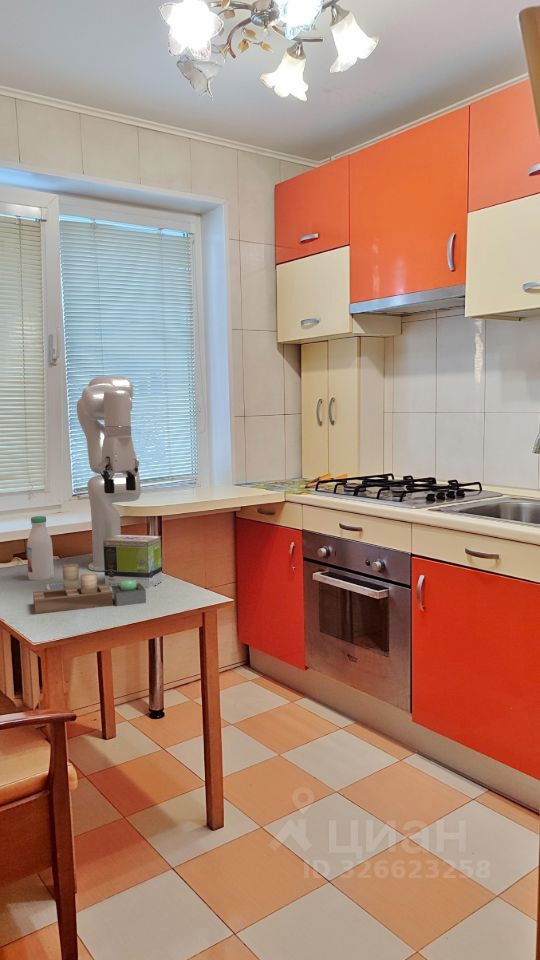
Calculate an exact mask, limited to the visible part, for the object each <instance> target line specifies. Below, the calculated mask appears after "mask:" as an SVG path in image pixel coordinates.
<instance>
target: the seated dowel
mask: <svg viewBox="0 0 540 960" xmlns="http://www.w3.org/2000/svg"><path fill="white" fill-rule="evenodd" d="M79 576H80V577H79V581H81V594H88V593H97V585H98V573H97V572H84V573H80V574H79Z"/></svg>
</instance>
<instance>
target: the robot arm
mask: <svg viewBox="0 0 540 960" xmlns="http://www.w3.org/2000/svg"><path fill="white" fill-rule="evenodd" d="M133 397H134V389H133V383H132V382H131V380H130V379H129V378H128V377H126V376H97V377H94V378H93V379H91V380H90V381H89V382H88V384H87V386H86V387H84V389H83V390H82V392H81V396H80V398H79V399H78V401H77V404H76V413H77V414H76V415H77V420H78V422H79V425H80V427H81V429H82V431H83V433H84V435H85V440H86V446H87V447H86V448H87V455H88V463H89V468H90V470H91V471H92V472H93V473H95V474H97V475H94V476H92V477H90V479H89V480H88V481H87V485H86V487H87V489H86V490H87V494H88V499H89V507H90V518H91V541H92V543H91V544H92V562H91V563H89V564H88V569H89V570H90V571H95V572H104V548H103V540H105V539H108V538H111V537H113V536H116V535H122V534H121V533H122V531H121V530H122V529H121V527H122V526H121V515H120V513H119V511H118V510H117V509H116V508H115V507H114V505H113V504H114V503H116V504H117V503H128V502H135V501H138V500H139V499H140V497H141V495H142V494H141V493H142V489H141V480H140V473H139V466H140V461H139V460H137V455H136V451H135V449H134V441H133V438H132V421H131V420H132V418H131V411H132V410H133ZM100 421H104V423H103V424H102V423H101V422H100Z"/></svg>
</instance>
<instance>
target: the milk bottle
mask: <svg viewBox="0 0 540 960" xmlns="http://www.w3.org/2000/svg"><path fill="white" fill-rule="evenodd" d="M30 522H31V523H30V524H31V530H30V533H29V535H28V538H27V542H26V543H27V544H26V553H27V574H28V579H29V581H43V580H44V581H45V580H50V579H53V578H54V576H55V575H54V573H55V572H54V571H55V569H54V553H53V540H52V537H51V535H50V534H49V531H48V529H47V526H46V524H47V517H46V515H45V516H44V515H35V516H31V517H30Z"/></svg>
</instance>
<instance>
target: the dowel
mask: <svg viewBox="0 0 540 960" xmlns="http://www.w3.org/2000/svg"><path fill="white" fill-rule="evenodd" d="M79 576H80V573H79V564H77V563H69V564H64V565H62V581H63V582H62V583H63V587H64V589H65V588H74V587H79V581H80V577H79Z"/></svg>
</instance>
